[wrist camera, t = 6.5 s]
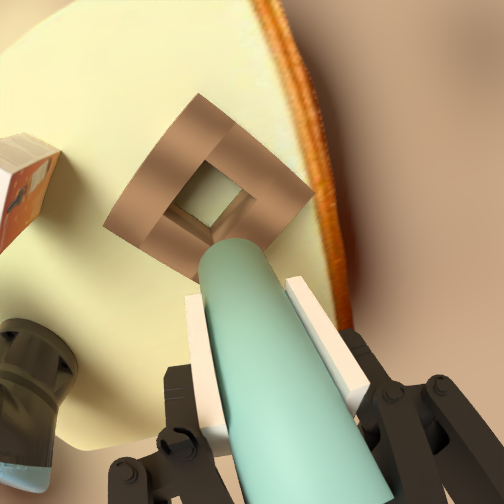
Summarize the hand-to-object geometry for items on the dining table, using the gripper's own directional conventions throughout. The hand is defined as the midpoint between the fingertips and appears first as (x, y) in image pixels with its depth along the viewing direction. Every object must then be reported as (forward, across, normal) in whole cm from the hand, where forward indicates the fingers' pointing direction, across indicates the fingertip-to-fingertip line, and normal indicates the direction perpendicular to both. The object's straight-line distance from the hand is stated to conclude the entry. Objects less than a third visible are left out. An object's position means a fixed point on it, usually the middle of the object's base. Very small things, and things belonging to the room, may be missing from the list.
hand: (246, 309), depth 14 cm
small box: (+19, -19, +6) cm, 28 cm away
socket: (+19, 0, 0) cm, 19 cm away
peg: (+4, 0, 0) cm, 4 cm away
